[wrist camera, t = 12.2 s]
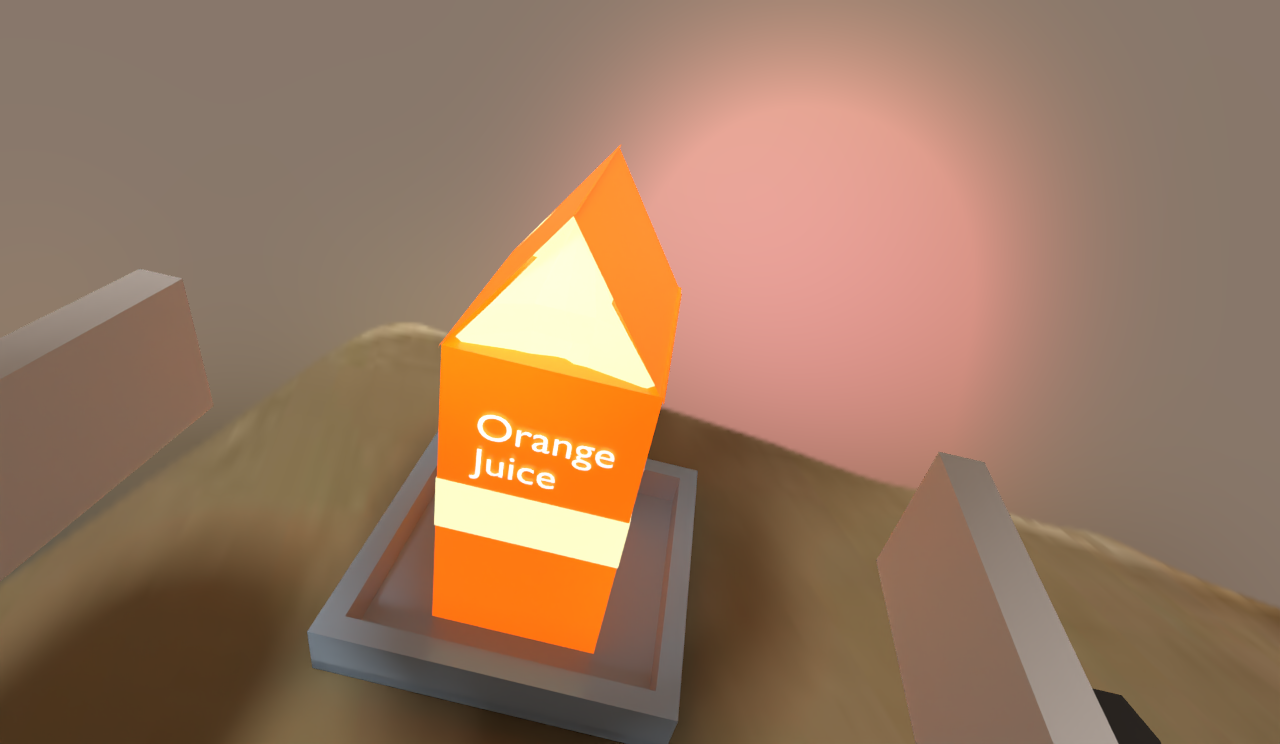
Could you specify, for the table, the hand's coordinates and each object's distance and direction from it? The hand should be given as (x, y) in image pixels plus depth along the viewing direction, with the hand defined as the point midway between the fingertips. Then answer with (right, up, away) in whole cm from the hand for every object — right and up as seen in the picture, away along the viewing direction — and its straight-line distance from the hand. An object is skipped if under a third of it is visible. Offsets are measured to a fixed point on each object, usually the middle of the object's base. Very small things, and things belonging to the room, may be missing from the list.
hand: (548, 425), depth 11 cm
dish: (-4, -9, +21) cm, 24 cm away
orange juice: (-4, -9, +21) cm, 23 cm away
